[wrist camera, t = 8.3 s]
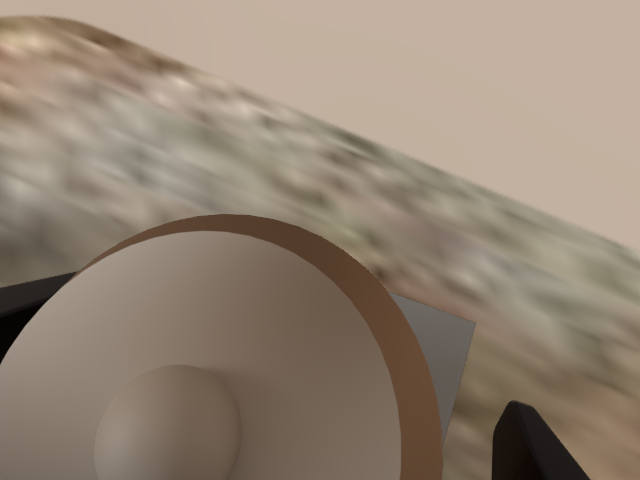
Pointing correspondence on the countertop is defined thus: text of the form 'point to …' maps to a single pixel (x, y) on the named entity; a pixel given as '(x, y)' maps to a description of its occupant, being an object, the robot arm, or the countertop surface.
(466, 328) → the slate block
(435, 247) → the countertop surface
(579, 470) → the robot arm
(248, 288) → the pepper mill
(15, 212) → the countertop surface
